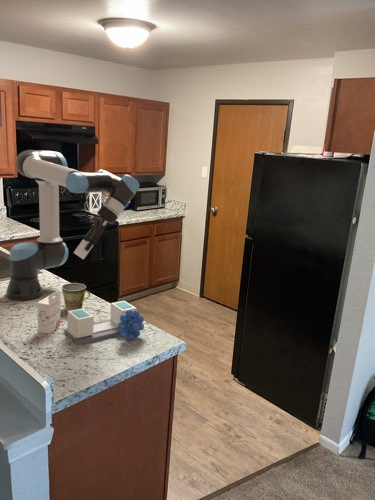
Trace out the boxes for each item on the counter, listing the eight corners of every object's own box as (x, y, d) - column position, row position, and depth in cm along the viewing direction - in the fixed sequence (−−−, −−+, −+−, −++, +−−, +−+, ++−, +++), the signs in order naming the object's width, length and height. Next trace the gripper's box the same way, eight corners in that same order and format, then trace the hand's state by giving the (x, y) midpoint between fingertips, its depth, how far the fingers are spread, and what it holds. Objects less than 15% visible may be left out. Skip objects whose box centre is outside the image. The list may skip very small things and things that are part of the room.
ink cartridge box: (48, 323, 165) (49, 287, 161) (60, 325, 164) (60, 289, 160) (37, 332, 156) (36, 294, 153) (49, 334, 156) (49, 296, 152)
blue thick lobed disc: (124, 347, 150) (125, 316, 147) (113, 340, 154) (114, 310, 151) (150, 339, 157) (152, 309, 155) (139, 333, 162) (140, 304, 159)
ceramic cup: (56, 310, 178) (56, 287, 176) (71, 302, 187) (71, 281, 185) (82, 316, 174) (82, 293, 171) (96, 308, 183) (96, 287, 180)
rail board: (64, 332, 158) (64, 309, 156) (122, 319, 173) (123, 298, 171) (78, 345, 149) (78, 321, 147) (138, 330, 164) (139, 308, 162)
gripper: (125, 216, 153) (91, 264, 149) (112, 217, 176) (82, 258, 173) (108, 203, 150) (73, 252, 147) (97, 206, 174) (67, 248, 170)
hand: (78, 256), depth 160 cm, fingers open, 13 cm apart
